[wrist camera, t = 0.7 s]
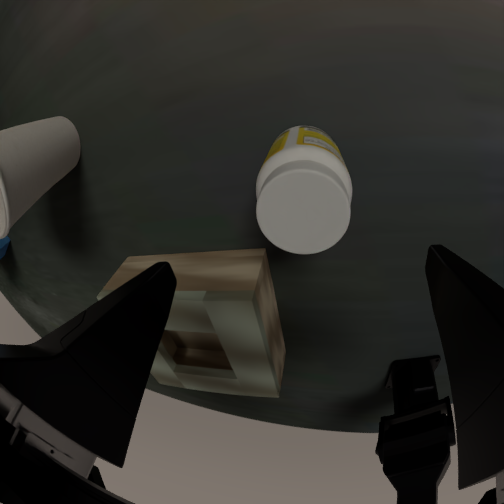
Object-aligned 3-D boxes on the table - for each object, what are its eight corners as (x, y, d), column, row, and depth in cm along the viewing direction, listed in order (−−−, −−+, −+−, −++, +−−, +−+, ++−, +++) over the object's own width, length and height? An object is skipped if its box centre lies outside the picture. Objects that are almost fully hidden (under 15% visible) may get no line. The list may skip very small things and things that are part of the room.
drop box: (285, 351, 31) (278, 397, 26) (176, 345, 34) (159, 383, 29) (265, 248, 23) (251, 300, 18) (128, 256, 27) (96, 296, 22)
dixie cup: (102, 174, 22) (21, 235, 14) (51, 191, 24) (-15, 244, 16) (77, 88, 17) (-20, 120, 9) (28, 121, 19) (-48, 159, 11)
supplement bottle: (280, 196, 20) (263, 268, 13) (261, 134, 18) (228, 176, 11) (346, 183, 19) (365, 253, 12) (331, 118, 16) (349, 149, 10)
